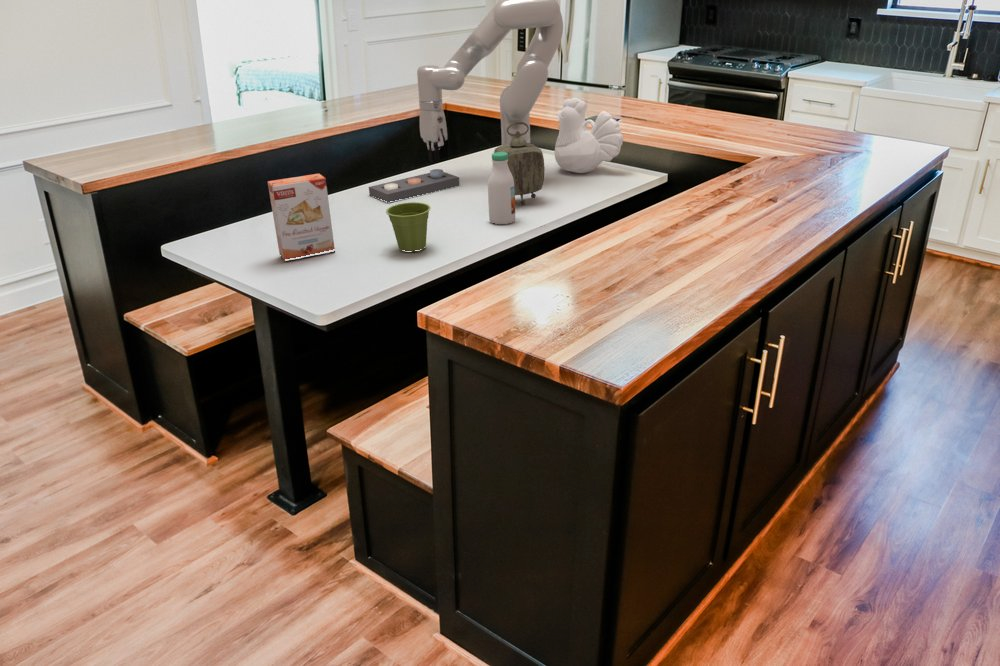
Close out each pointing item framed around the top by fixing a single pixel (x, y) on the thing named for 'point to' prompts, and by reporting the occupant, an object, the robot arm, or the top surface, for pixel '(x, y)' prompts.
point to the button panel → (414, 187)
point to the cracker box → (301, 215)
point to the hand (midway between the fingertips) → (434, 161)
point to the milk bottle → (501, 191)
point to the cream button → (391, 186)
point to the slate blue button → (436, 173)
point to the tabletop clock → (524, 164)
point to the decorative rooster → (585, 138)
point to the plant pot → (409, 224)
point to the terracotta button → (414, 181)
